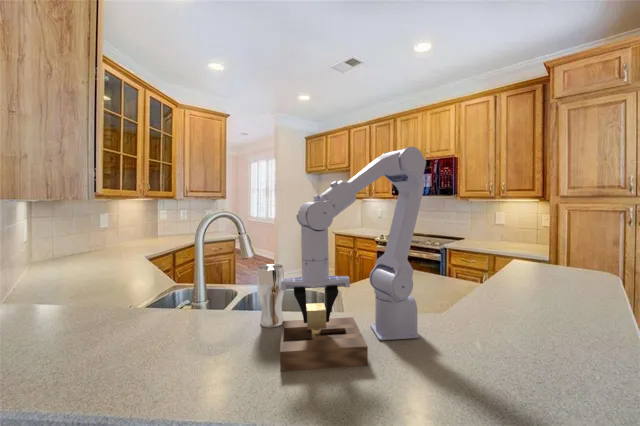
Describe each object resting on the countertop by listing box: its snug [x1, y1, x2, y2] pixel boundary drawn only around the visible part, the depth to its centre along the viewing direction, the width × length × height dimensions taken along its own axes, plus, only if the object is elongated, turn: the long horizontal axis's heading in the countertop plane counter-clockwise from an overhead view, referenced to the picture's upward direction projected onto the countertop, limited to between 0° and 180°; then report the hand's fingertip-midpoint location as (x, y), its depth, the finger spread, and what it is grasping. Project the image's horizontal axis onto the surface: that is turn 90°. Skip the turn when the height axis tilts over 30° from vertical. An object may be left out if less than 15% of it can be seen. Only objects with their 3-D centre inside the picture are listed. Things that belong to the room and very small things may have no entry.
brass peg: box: [306, 302, 326, 340], centre depth 65 cm, size 4×4×9 cm
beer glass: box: [256, 263, 285, 329], centre depth 78 cm, size 7×7×15 cm
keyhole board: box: [279, 316, 369, 372], centre depth 64 cm, size 17×14×4 cm
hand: (316, 320), depth 64 cm, fingers closed on brass peg, 4 cm apart
